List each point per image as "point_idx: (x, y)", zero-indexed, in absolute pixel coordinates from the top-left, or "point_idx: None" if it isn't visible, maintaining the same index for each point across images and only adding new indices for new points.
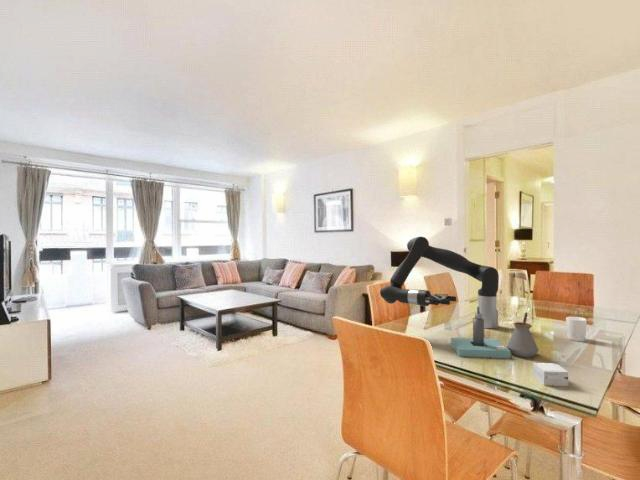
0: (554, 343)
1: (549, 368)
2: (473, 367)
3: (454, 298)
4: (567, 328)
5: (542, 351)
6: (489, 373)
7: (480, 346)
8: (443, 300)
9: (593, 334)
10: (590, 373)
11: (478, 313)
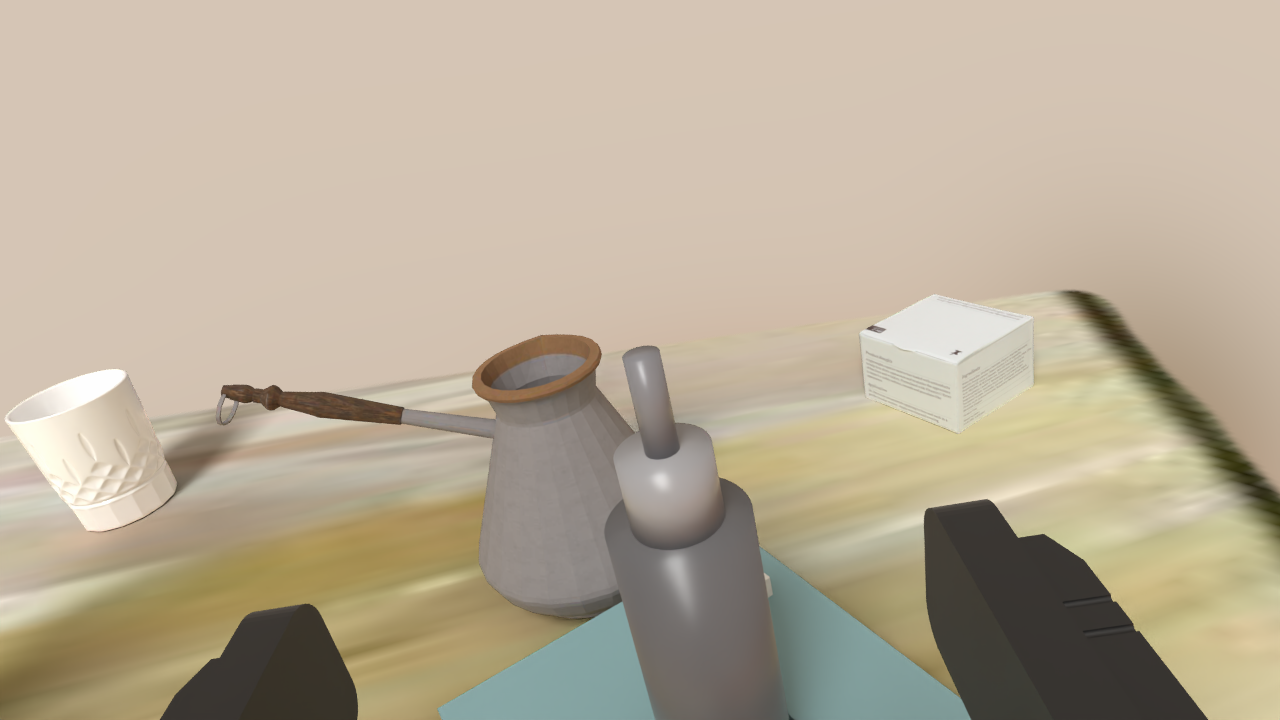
0: (248, 537)
1: (970, 319)
2: (1262, 663)
3: (315, 668)
4: (94, 471)
5: (459, 526)
6: (1217, 550)
7: (812, 717)
8: (1119, 671)
9: (17, 491)
10: (696, 365)
11: (677, 438)
